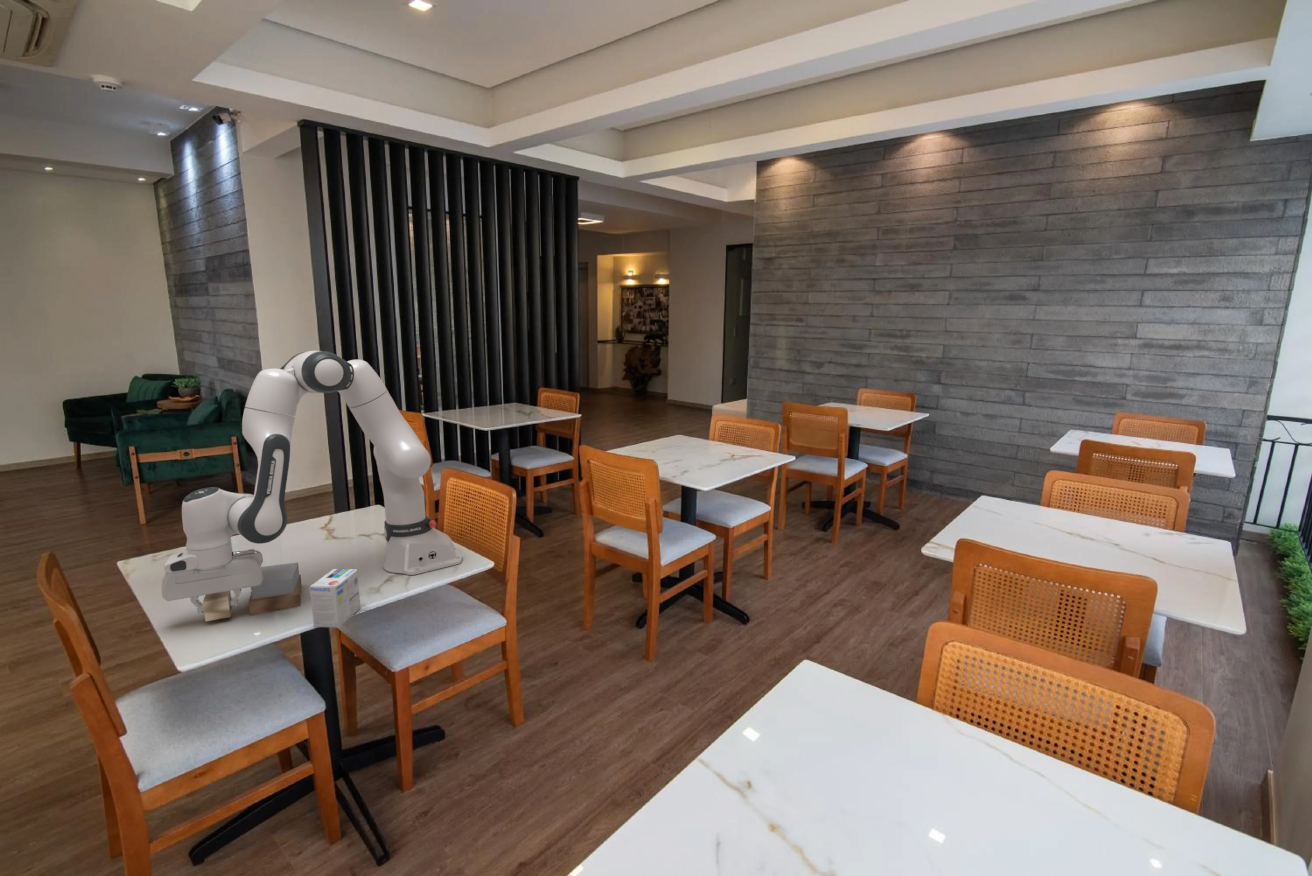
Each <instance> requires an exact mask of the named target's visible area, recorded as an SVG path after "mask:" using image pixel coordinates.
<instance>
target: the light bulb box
mask: <svg viewBox="0 0 1312 876" xmlns="http://www.w3.org/2000/svg"><path fill="white" fill-rule="evenodd" d="M309 592H310V603H311V611H312V612H311V613H312V621H313V627H315V628H340V627H341V626H343V625H344V623H346V622H347V621H348V620H349V619H350V618H351V617H352V616H354V614H356V613H357V611H359V610H360V609H361V597H360V584H359V573H358V569H357V568H352V569H351V568H350V569H349V568H332V569H330V570H329V571H328V572H327V573H326V574H324V575H323V576H322V577H320V578H319V579H318V580H316V581H315V582H314V583H312V584H311V585H309ZM355 612H356V613H355Z"/></svg>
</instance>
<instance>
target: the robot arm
mask: <svg viewBox="0 0 1312 876" xmlns="http://www.w3.org/2000/svg"><path fill="white" fill-rule="evenodd" d="M334 392H338V393H339V394H340V396H341V397H342V398H343V400H344V401H345V403H346V405H347V407H348V409H349V411H350V412H351V413H352V415H353V417H354V418H355V420H356V422H357V423H358V425H359V428H361V430H362V432H363V433H364V434H365V436H366V437H367V438H368V439H369V440H370V443H372V444H373V456H374V459H375V462H376V466H377V472H378V476H379V477H378V478H379V482H380V486H381V488H382V494H383V500H384V501H383V504H384V514H385V520H384V526H383V528H384V538H385V541H386V544H385V545H386V547H385V548H386V549H385V556H384V562H383V566H382V568H383V570H384V571H387V572H389V573H393V574H403V575H407V576H414V575H419V574H423V573H426V572H431V571H432V572H433V571H435V570H440V569H443V568H448V567H451V566H455V565H459V564H460V565H461V563H462V561H463V554H462V552H461V551H460V550H459V549H458V548H456V547H455V546H454V543H453V540H452V539H451V538H450V536H449V535H448V534H446V533H444V532H442V531H440V530H438V529H436V527H437V522H436V521H435V520H433V518H432V517H431V516H429V515H428V516H427V515H426V505H425V502H426V501H425V491H424V489H423V487H422V484H421V480H420V478H421V477H422V476H424V475H425V474H427V472H428V471H429V469H430V466H431V464H432V463H431V462H432V459H431V455H430V453H429V451H428V450H427V449H426V448H425V446H424V445H423V443H422V441H421V440H420V438H419V437H418V435H417V433H415V431H414V429H413V428H412V427H411V425H410V424H409V423H408V422H407V421H406V419H405V418H404V417H403V415H402V413H401V412H400V410H399V408H398V406H397V405H396V403H395V401H394V399H393V397H392V396H391V394H390V393H389V391H388V388H387V387H386V385H385V384H384V382H383V380H382V379H381V377H380V376H379V375H378V373H377V372H376V370H375V369H373V367H372V366H371V365H370V364H369V363H368V361H365V360H364V359H351V360H348V361H347V360H346V359H344V358H342V357H340V356H339V355H337V354H335V353H334V352H331V351H324V350H323V351H322V350H309V351H304V352H299V353H297V354H295V355H293V356H291V357H290V358H289V360H288V361H286V362H285V363H284V365H282V366H281V367H280V368H274V367H273V368H266V369H263V370H260V371H258V373H257V374H256V376H255V378H254V380H253V382H252V385H251V388H250V389H249V392H248V395H247V399H246V402H245V405H244V409H243V415H242V420H241V426H242V427H241V429H242V431H241V433H242V436H243V437H244V440H246V442H247V443H248V444H249V445H250V447H251V448H252V450H253V451H254V453H255V456H256V457H257V473H256V479H255V486H254V493H253V494H251V493H239V492H238V493H237V492H231V491H227V490H224V489H222V488H220V487H217V486H212V487H211V486H210V487H204V488H199V489H197V490H195V491H192V492H190V493H189V494H187V495H185V497H184V498H183V500H182V504H181V521H182V529H183V532H184V534H185V537H186V543H185V548H186V549H185V550H183V551H181V552H177V553H176V554H172V555H171V556H170V557H169V558H168V559H167V560H165V563H164V567H163V569H164V571H165V572H164V575H163V576H162V579H161V597H162V599H164V600H165V601H166V602H171V601H176V600H184V599H189V600H190V602H191V604H192V605H194V606H195V607H196V608H197V613H198V614H201V613H204V608H203V602H202V601H200V600H199V598H200V597H201V596H205V595H207V594H213V593H219V592H225V591H230V592H231V591H233V594H234V596H233V597H231V598H230V601H229V602H230V607H233V608H234V607H238V605H239V602H238V601H239V600H238V599H239V597H240V594H241V593H242V590H243V589H247V588H251V587H254V586H259V585H261V584H262V582H263V581H264V574H263V570H262V567H263V566H262V564H263V562H264V558H263V554H262V552H260V551H259V550H255V549H254V548H253V549H251V548H249V549H246V550H238V551H233V546H232V545H233V544H232V537H233V536H235V535H241V537H242V538H244V539H246V540H247V541H248V542H250V543H253V544H259V545H261V544H267V543H271V542H272V541H274V540H276V539H277V538H278V537H280V536H281V535H282V534H283V533H284V531H285V529H286V527H287V525H288V513H287V508H286V505H285V503H286V502H285V496H286V489H287V482H288V474H289V466H290V458H291V441H292V436H293V435H292V434H293V429H294V425H295V424H294V423H295V420H296V414H297V410H298V405H299V402H300V400H301V399H302V397H303V396H304V395H306V394H307V393H311V394H331V393H334Z"/></svg>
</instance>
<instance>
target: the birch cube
mask: <svg viewBox="0 0 1312 876" xmlns="http://www.w3.org/2000/svg"><path fill="white" fill-rule="evenodd" d="M231 593H232V592H231V591H225V592H219V593H213V594H207V595H204V596H203V597H204V598H203V600H202V603H203V608H204V612H203V614H204V620H205V622H211V621H216V620H221V619H226V618H231V616H232V613H233V609H234V607H230V602H229V601H230V598H232V595H231Z"/></svg>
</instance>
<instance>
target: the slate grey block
mask: <svg viewBox="0 0 1312 876" xmlns="http://www.w3.org/2000/svg"><path fill="white" fill-rule="evenodd" d="M262 570H263V574H264V581H263V582H262V584H261V585H259V586H254V587H250V595H251V594H252V599H260V598H267V597H274V596H281V595H288V594H293V593H294V590H295V587H296V585H297V582H298V579H299V575H300V568H299V562H290V563H282V564H274V565H266V566H262Z"/></svg>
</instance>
